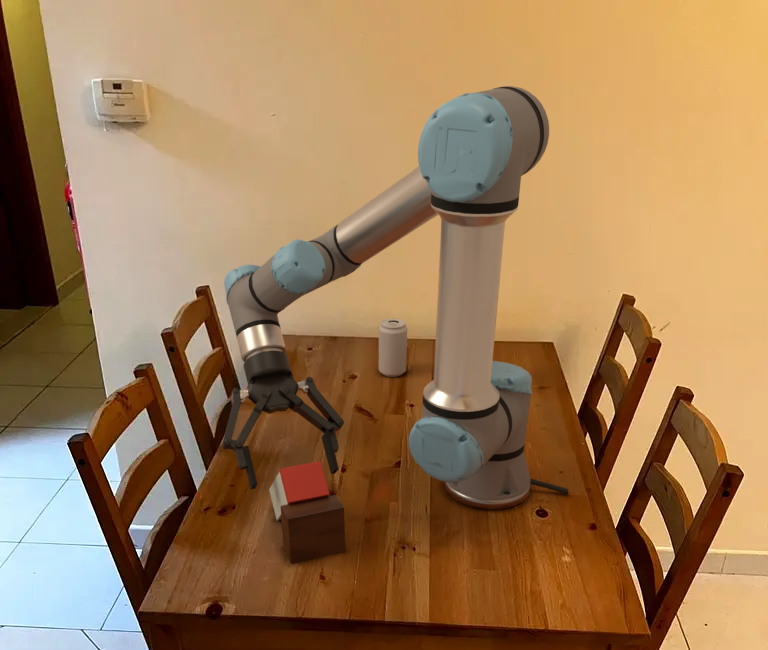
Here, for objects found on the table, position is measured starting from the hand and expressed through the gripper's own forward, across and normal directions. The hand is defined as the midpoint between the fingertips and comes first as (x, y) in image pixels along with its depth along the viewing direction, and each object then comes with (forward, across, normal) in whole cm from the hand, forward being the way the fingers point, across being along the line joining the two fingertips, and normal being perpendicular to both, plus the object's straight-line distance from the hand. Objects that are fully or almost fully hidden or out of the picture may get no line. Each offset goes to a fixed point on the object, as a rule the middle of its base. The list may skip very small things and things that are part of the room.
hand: (295, 479), depth 133 cm
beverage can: (-30, -38, -42) cm, 65 cm away
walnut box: (+12, 0, 0) cm, 12 cm away
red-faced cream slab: (+7, 0, -5) cm, 8 cm away
